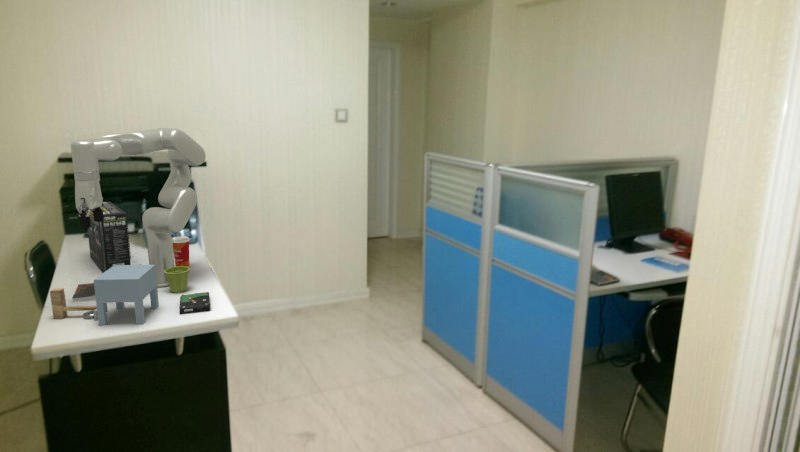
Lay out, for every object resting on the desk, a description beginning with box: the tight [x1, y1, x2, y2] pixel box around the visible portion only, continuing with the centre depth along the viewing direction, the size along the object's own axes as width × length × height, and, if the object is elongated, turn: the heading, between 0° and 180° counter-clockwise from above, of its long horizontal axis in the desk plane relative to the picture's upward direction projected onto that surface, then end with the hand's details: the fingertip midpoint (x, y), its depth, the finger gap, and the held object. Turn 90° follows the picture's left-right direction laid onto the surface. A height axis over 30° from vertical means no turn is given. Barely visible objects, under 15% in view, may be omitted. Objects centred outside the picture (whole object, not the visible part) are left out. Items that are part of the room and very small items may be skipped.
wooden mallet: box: [49, 287, 108, 322], centre depth 180 cm, size 8×15×10 cm, turn 96°
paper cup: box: [172, 235, 191, 268], centre depth 234 cm, size 8×8×14 cm
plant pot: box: [164, 266, 190, 294], centre depth 207 cm, size 9×9×9 cm
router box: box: [87, 201, 132, 274], centre depth 236 cm, size 36×11×27 cm, turn 39°
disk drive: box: [179, 291, 211, 315], centre depth 193 cm, size 10×3×15 cm
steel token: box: [82, 310, 94, 320], centre depth 181 cm, size 5×5×2 cm
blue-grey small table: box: [93, 264, 160, 326], centre depth 181 cm, size 16×15×16 cm
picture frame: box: [71, 282, 96, 303], centre depth 205 cm, size 16×2×22 cm
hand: (92, 224), depth 185 cm, fingers open, 9 cm apart
